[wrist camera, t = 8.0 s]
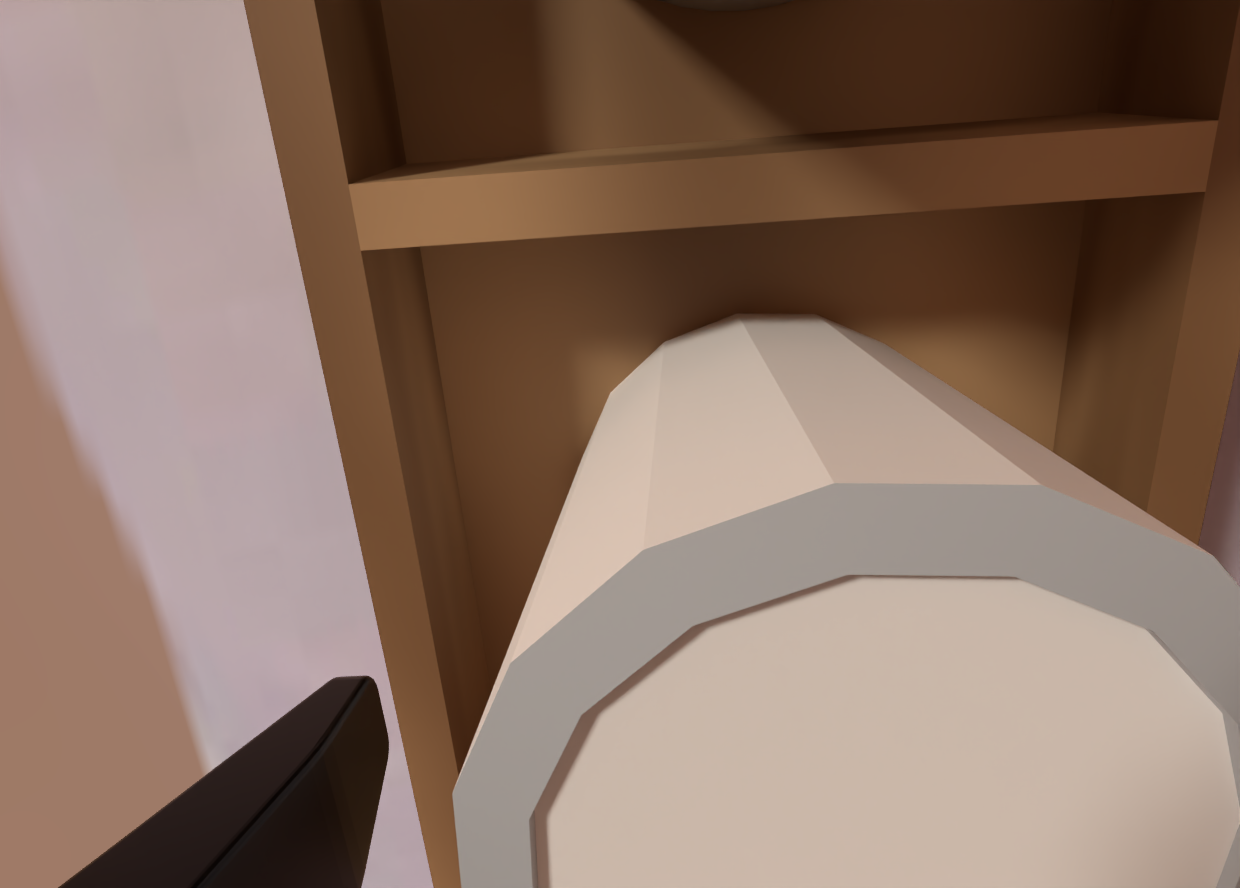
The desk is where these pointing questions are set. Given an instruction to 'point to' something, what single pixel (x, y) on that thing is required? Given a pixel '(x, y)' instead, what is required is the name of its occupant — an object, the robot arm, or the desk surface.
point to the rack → (732, 253)
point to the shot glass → (851, 648)
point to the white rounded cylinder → (726, 4)
